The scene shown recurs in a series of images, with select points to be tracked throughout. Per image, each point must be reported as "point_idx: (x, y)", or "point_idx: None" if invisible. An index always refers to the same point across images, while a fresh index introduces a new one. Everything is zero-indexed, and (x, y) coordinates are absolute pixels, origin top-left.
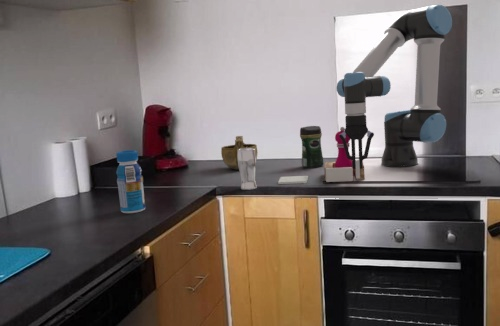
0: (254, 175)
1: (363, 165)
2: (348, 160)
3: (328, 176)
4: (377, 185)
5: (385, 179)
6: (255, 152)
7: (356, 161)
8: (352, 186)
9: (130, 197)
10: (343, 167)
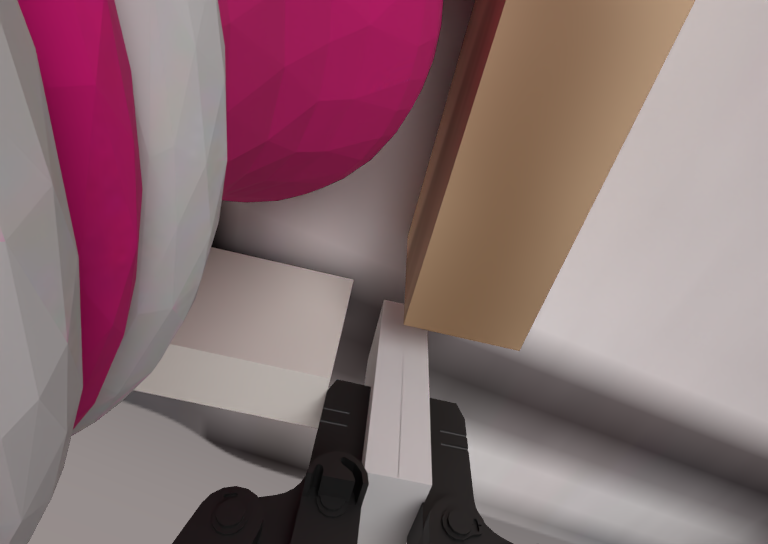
0: None
1: (548, 278)
2: (295, 187)
3: None
4: (483, 481)
5: (670, 337)
6: None
7: (358, 533)
8: (305, 448)
9: None
10: (204, 357)
